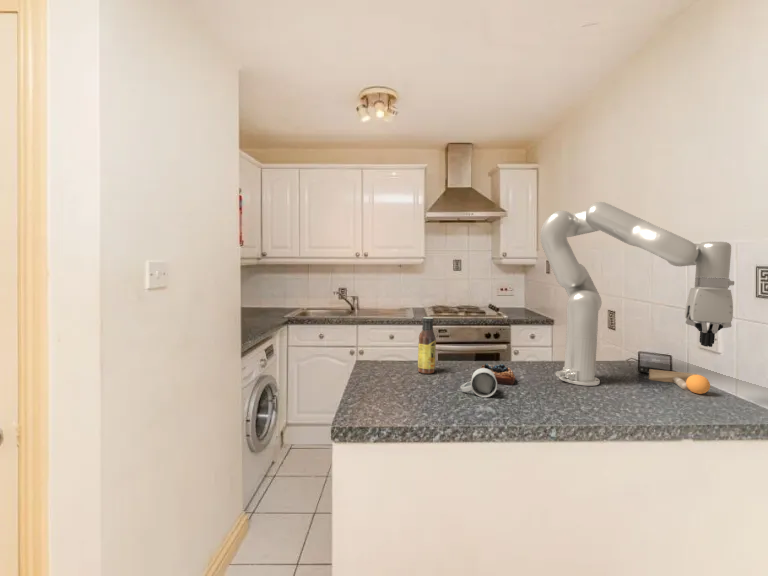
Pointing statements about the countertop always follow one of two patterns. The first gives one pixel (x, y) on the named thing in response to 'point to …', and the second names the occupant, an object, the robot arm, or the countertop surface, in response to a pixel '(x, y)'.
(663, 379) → the wall
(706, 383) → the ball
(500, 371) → the pastry
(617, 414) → the countertop surface
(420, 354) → the sauce bottle
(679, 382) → the pin
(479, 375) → the ceramic mug
